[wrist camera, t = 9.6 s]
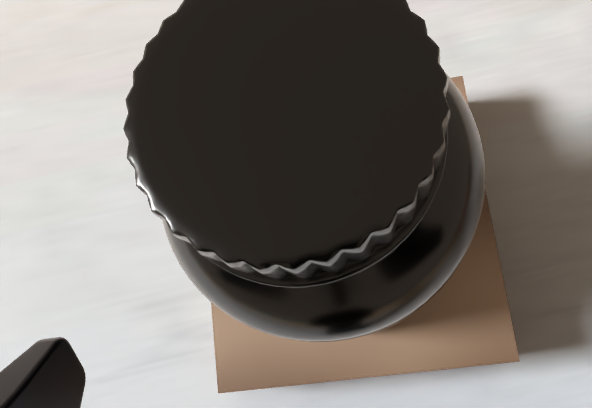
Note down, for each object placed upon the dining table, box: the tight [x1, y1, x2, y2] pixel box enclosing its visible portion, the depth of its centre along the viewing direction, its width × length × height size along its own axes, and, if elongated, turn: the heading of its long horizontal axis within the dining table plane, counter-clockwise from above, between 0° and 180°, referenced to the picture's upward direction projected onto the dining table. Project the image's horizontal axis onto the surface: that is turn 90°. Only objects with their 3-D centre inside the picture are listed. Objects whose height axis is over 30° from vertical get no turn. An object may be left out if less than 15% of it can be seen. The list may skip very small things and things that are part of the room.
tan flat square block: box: [211, 76, 519, 393], centre depth 21 cm, size 10×10×2 cm
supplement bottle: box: [124, 0, 485, 342], centre depth 13 cm, size 7×7×12 cm
